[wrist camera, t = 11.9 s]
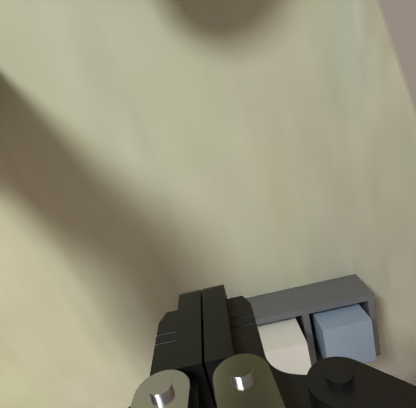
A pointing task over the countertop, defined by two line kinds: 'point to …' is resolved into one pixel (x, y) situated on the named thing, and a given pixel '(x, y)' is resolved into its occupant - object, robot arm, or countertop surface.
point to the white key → (285, 346)
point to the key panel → (315, 306)
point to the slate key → (344, 333)
